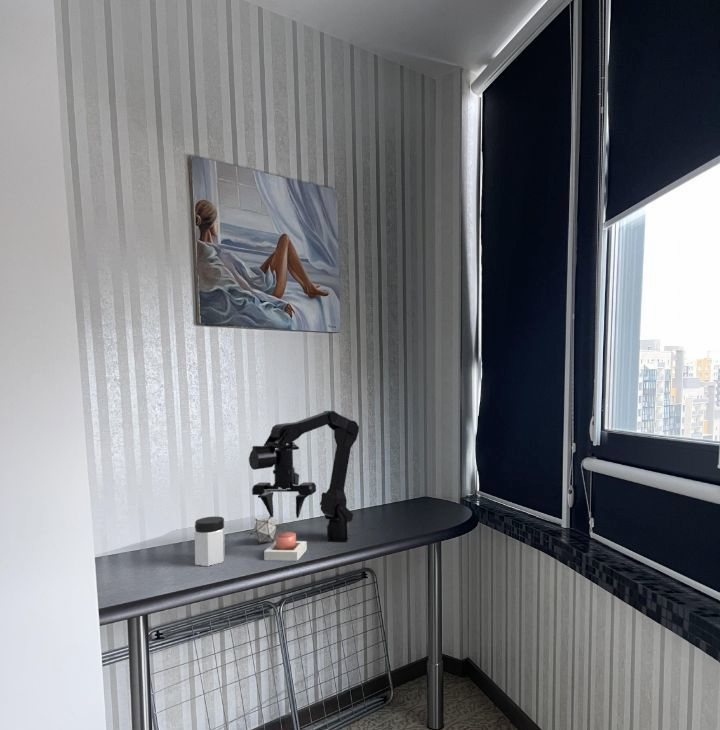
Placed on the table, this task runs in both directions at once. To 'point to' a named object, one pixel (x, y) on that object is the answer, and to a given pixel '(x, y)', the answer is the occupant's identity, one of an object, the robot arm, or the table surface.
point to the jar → (209, 541)
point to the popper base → (285, 552)
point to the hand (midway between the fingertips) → (284, 517)
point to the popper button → (286, 541)
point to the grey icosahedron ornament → (264, 530)
